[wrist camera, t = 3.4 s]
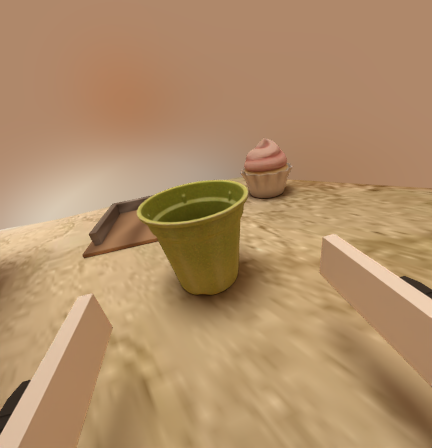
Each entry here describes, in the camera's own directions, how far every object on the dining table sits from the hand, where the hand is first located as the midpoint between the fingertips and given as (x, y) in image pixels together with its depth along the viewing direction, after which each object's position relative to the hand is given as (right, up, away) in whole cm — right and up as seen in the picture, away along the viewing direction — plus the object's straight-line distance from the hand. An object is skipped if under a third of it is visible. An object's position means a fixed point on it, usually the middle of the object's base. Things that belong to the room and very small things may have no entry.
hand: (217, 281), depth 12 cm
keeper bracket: (-12, +4, +25) cm, 28 cm away
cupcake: (+10, +9, +28) cm, 31 cm away
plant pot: (-1, -2, +10) cm, 10 cm away
